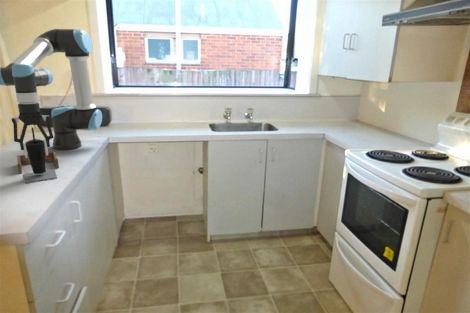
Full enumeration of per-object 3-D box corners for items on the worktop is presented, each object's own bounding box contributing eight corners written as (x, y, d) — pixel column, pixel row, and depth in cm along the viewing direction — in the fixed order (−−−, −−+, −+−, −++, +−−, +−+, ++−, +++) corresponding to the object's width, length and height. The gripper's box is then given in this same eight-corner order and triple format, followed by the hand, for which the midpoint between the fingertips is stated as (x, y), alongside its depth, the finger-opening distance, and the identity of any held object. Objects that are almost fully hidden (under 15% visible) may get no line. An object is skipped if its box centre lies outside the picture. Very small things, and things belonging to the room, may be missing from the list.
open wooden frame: (56, 159, 167) (54, 151, 166) (58, 168, 155) (57, 159, 154) (19, 164, 159) (17, 155, 158) (19, 173, 147) (17, 164, 145)
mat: (54, 170, 152) (54, 169, 151) (57, 178, 142) (57, 177, 142) (24, 174, 145) (24, 173, 145) (24, 183, 136) (24, 182, 136)
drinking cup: (52, 169, 147) (46, 125, 141) (44, 175, 140) (36, 129, 134) (35, 169, 147) (28, 125, 141) (25, 175, 140) (17, 129, 134)
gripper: (54, 100, 143) (61, 150, 149) (-1, 102, 132) (9, 156, 139) (56, 102, 137) (63, 154, 143) (-2, 105, 126) (9, 161, 133)
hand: (37, 155), depth 141 cm, fingers closed on drinking cup, 7 cm apart
